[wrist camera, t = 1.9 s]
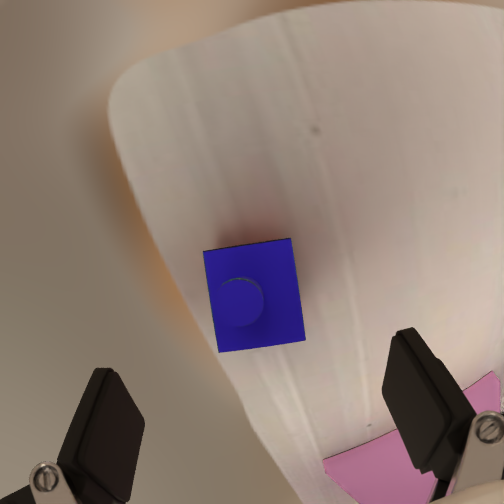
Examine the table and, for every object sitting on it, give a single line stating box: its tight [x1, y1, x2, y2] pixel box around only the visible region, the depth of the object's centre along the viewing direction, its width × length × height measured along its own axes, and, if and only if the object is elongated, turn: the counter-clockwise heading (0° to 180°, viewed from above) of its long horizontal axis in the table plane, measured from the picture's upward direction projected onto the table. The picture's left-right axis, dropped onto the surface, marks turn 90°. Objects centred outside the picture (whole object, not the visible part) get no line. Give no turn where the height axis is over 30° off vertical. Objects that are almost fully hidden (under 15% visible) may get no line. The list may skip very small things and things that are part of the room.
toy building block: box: [203, 238, 306, 353], centre depth 13 cm, size 4×4×8 cm
